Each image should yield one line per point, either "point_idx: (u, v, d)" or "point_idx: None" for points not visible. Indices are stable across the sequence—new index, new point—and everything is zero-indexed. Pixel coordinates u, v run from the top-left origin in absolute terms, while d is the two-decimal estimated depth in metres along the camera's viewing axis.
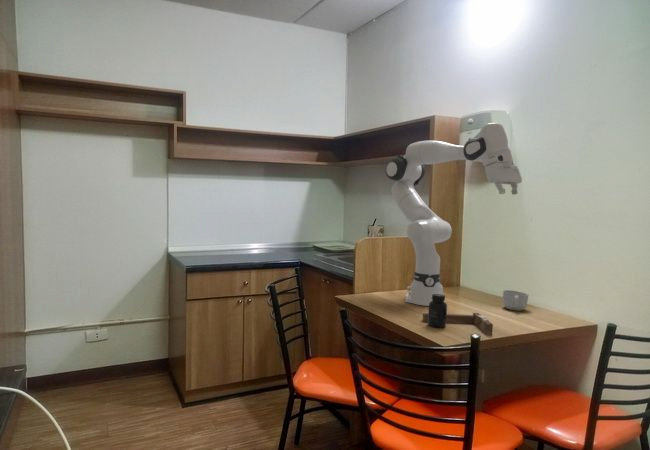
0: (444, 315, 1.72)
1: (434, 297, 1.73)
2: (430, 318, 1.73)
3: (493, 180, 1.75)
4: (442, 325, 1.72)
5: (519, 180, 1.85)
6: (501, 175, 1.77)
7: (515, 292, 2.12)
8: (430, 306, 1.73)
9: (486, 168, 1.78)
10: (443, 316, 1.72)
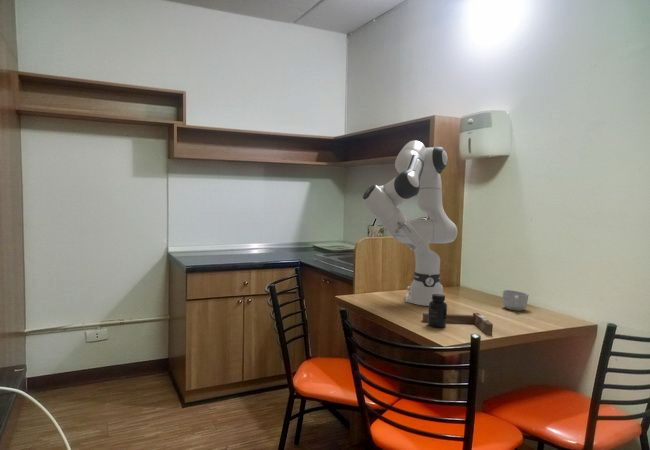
0: (444, 315, 1.72)
1: (434, 297, 1.73)
2: (430, 318, 1.73)
3: None
4: (442, 325, 1.72)
5: (412, 243, 1.66)
6: (398, 238, 1.78)
7: (515, 292, 2.12)
8: (430, 306, 1.73)
9: None
10: (443, 316, 1.72)
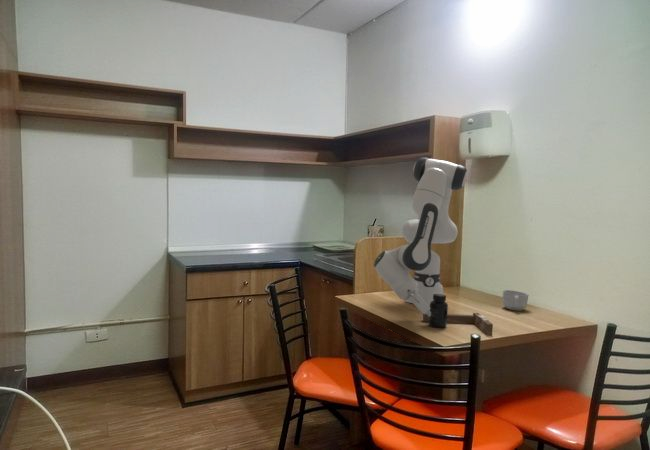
0: (445, 315, 1.72)
1: (435, 297, 1.73)
2: (431, 318, 1.73)
3: None
4: (443, 325, 1.72)
5: None
6: None
7: (515, 292, 2.12)
8: (431, 306, 1.73)
9: None
10: (443, 316, 1.72)
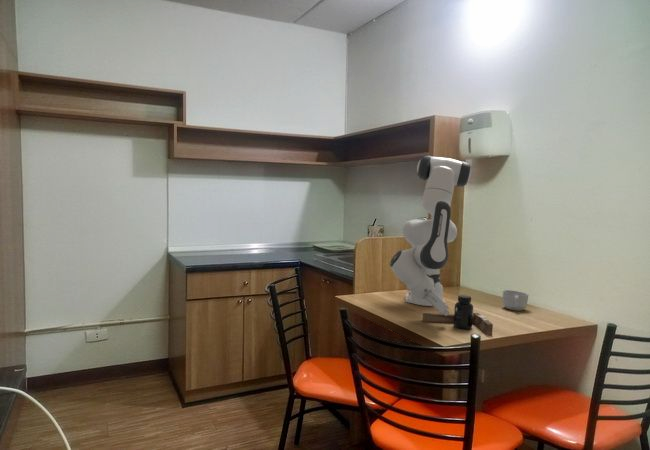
0: (470, 316, 1.71)
1: (460, 298, 1.73)
2: (456, 319, 1.73)
3: None
4: (468, 326, 1.71)
5: None
6: None
7: (515, 292, 2.12)
8: (456, 307, 1.73)
9: None
10: (468, 317, 1.71)
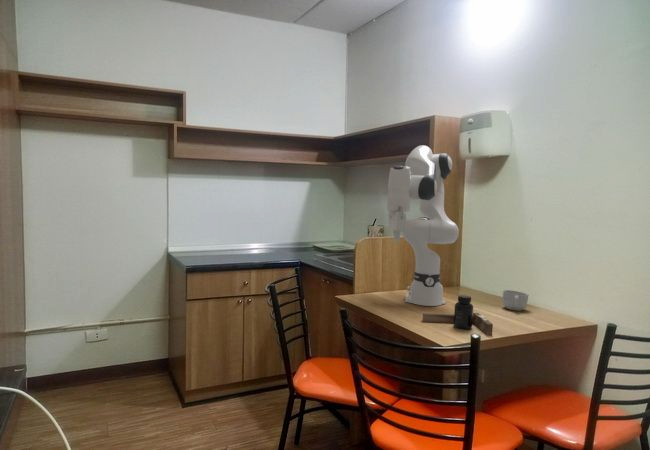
0: (470, 316, 1.71)
1: (460, 298, 1.73)
2: (456, 319, 1.73)
3: None
4: (468, 326, 1.71)
5: (395, 229, 1.73)
6: (390, 222, 1.86)
7: (515, 292, 2.12)
8: (456, 307, 1.73)
9: None
10: (468, 317, 1.71)
